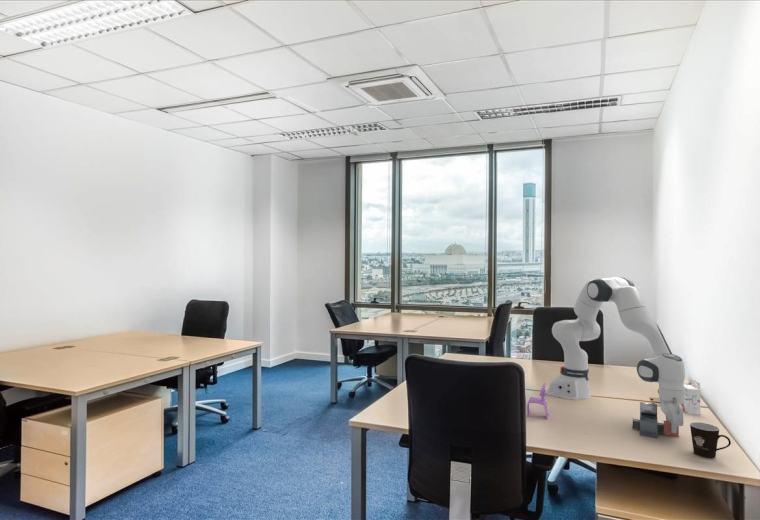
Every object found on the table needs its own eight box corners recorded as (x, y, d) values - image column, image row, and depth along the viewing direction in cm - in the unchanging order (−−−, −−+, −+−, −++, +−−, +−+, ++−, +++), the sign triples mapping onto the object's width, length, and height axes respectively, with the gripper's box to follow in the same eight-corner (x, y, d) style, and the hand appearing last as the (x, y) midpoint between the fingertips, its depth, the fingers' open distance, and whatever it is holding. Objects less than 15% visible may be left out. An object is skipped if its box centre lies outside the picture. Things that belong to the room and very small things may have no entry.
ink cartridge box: (680, 408, 216) (680, 377, 216) (692, 409, 215) (692, 378, 215) (688, 414, 208) (688, 382, 208) (701, 415, 207) (701, 382, 207)
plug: (632, 428, 189) (632, 418, 189) (632, 425, 193) (632, 415, 193) (678, 436, 181) (678, 426, 181) (678, 433, 185) (678, 422, 185)
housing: (639, 435, 182) (640, 407, 182) (640, 422, 197) (640, 397, 197) (657, 438, 179) (657, 410, 179) (656, 425, 194) (656, 399, 194)
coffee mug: (684, 449, 168) (684, 422, 168) (706, 449, 169) (706, 422, 169) (709, 463, 156) (709, 434, 156) (733, 462, 157) (733, 433, 157)
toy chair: (529, 412, 210) (529, 379, 210) (549, 415, 206) (549, 381, 206) (526, 417, 202) (526, 383, 202) (547, 420, 198) (547, 386, 198)
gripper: (688, 403, 173) (688, 440, 173) (674, 389, 192) (674, 422, 192) (669, 401, 175) (669, 437, 175) (656, 388, 195) (656, 420, 194)
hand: (671, 429), depth 184 cm, fingers closed on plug, 5 cm apart
